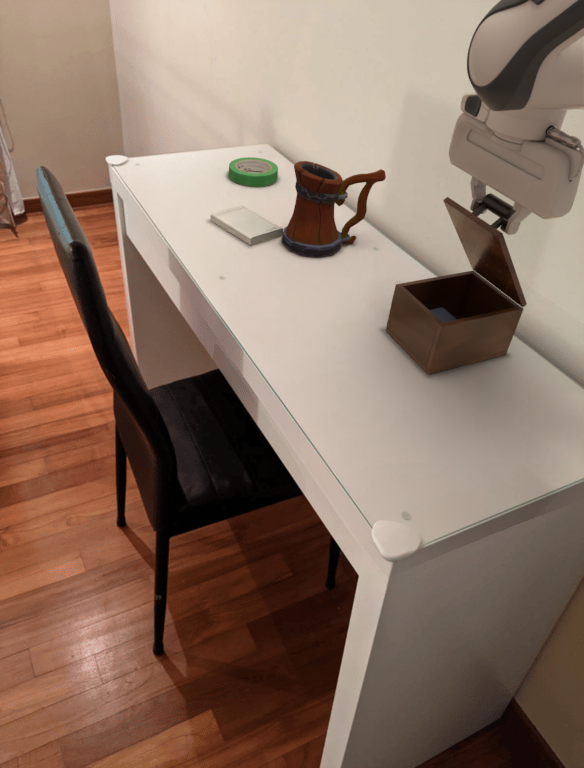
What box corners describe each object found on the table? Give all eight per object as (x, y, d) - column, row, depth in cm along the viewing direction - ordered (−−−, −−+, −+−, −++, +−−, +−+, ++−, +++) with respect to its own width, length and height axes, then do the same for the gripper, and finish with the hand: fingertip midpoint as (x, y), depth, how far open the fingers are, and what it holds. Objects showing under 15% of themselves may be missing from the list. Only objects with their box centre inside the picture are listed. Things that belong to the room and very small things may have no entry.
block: (453, 346, 92) (460, 322, 89) (429, 352, 90) (437, 328, 88) (435, 331, 95) (442, 307, 92) (412, 336, 93) (418, 312, 90)
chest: (428, 374, 87) (442, 326, 82) (385, 330, 95) (395, 284, 90) (506, 354, 93) (524, 308, 88) (459, 314, 101) (473, 270, 96)
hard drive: (283, 227, 117) (243, 204, 123) (250, 238, 112) (210, 213, 119) (283, 235, 118) (242, 212, 125) (250, 246, 113) (210, 221, 120)
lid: (497, 237, 76) (532, 208, 76) (442, 200, 84) (473, 174, 84) (522, 307, 88) (553, 283, 87) (472, 269, 95) (499, 246, 95)
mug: (364, 230, 123) (377, 155, 113) (381, 257, 114) (396, 179, 105) (276, 230, 119) (282, 153, 110) (287, 259, 111) (294, 177, 101)
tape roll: (249, 190, 133) (250, 178, 132) (218, 174, 139) (219, 162, 137) (287, 181, 139) (288, 169, 138) (256, 165, 145) (256, 154, 144)
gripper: (610, 141, 68) (565, 254, 77) (492, 90, 82) (464, 190, 90) (569, 145, 66) (527, 261, 74) (454, 92, 79) (430, 194, 88)
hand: (492, 221), depth 83 cm, fingers closed on lid, 5 cm apart
